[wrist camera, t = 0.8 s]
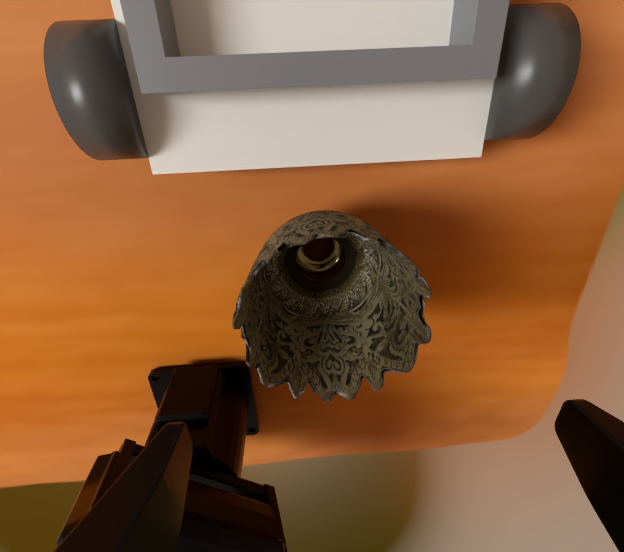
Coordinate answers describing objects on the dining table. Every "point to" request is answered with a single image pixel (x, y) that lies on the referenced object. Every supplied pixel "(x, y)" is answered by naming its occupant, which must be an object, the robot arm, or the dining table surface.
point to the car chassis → (309, 80)
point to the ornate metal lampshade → (331, 308)
